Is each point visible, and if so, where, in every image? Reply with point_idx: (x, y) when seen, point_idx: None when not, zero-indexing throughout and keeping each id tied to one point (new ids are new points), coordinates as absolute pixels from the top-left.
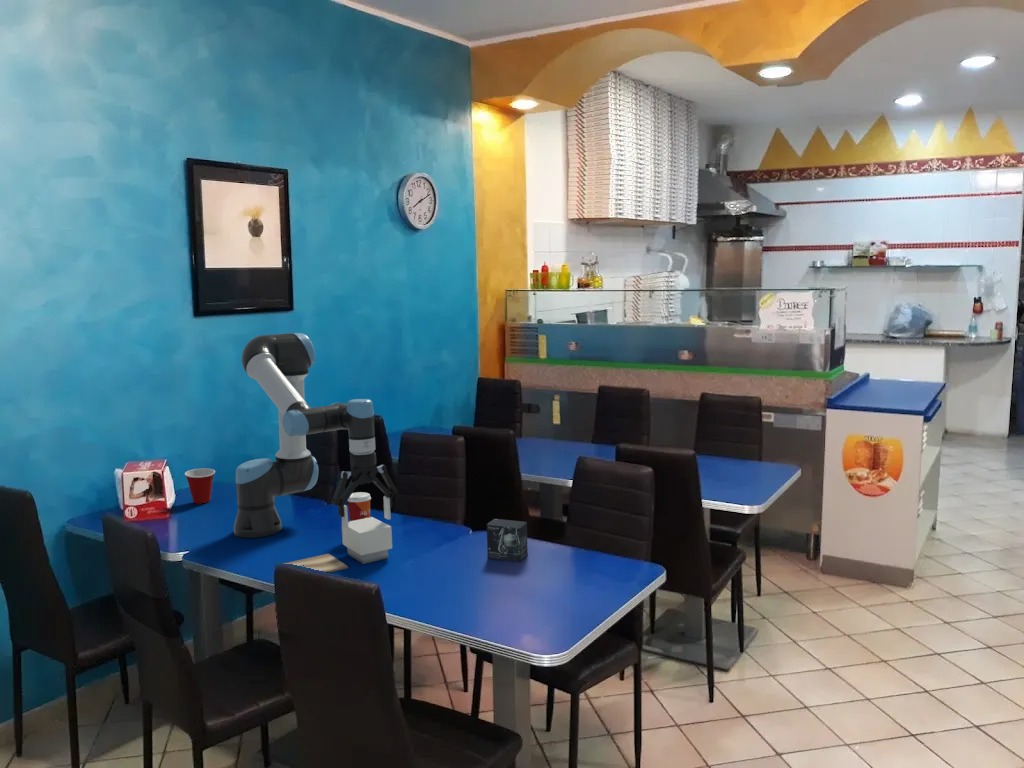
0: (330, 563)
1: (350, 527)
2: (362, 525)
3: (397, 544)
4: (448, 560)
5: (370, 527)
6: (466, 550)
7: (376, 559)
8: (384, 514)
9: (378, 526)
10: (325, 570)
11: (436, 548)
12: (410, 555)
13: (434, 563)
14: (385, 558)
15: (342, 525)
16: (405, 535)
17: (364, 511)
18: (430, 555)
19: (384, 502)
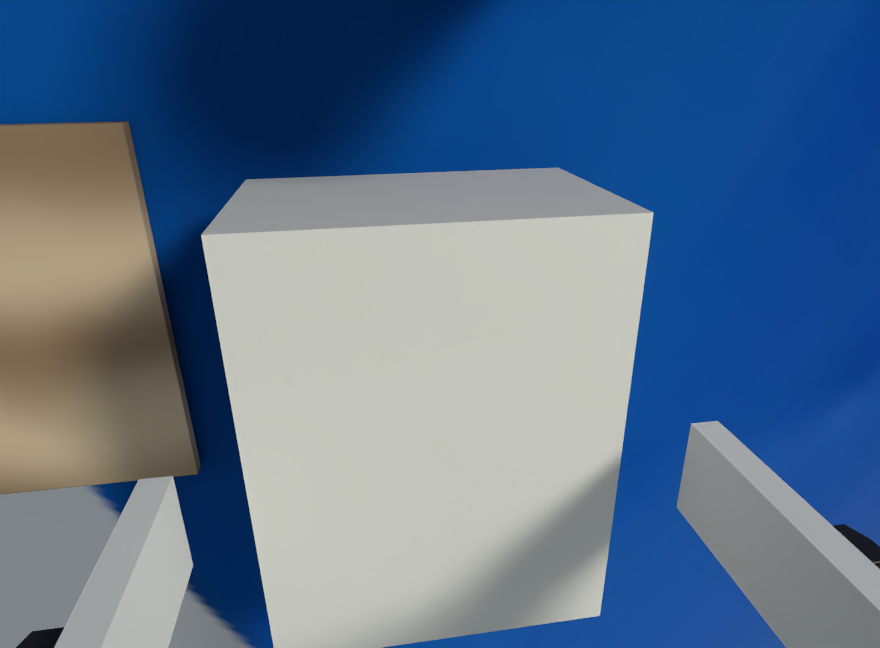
0: (89, 368)
1: (250, 469)
2: (397, 467)
3: (695, 203)
4: (711, 595)
5: (436, 561)
6: (869, 519)
7: None
8: (712, 452)
9: (513, 567)
10: (26, 478)
11: (800, 417)
12: (623, 447)
13: (638, 602)
14: None
15: (136, 496)
16: (875, 23)
17: None
18: None
19: (822, 587)
